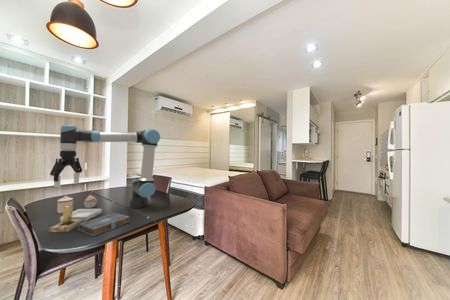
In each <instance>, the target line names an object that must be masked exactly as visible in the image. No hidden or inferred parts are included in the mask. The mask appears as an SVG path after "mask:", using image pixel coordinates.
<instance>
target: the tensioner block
mask: <svg viewBox="0 0 450 300" xmlns="http://www.w3.org/2000/svg"><path fill="white" fill-rule="evenodd" d="M80 223H83V219H72V224H70V225H63V221H62V222H60V221H59V222H58V223H56V224H55V225H52V226H50V227H49V228H48V233H69V232H70V231H72V230H74V229H75V228H78V224H80Z"/></svg>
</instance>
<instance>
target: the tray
mask: <svg viewBox="0 0 450 300" xmlns="http://www.w3.org/2000/svg"><path fill="white" fill-rule="evenodd" d="M102 212H103V209H102V208H89V209H87V208H79V209H76V210H72V219H83V222H87V221H90V220H93V219H94V218H95V217H97V216H99V215H101V214H102ZM62 221H63V215H62V216H60V217H59V223H60V222H62Z"/></svg>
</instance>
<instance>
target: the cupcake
mask: <svg viewBox="0 0 450 300" xmlns="http://www.w3.org/2000/svg"><path fill="white" fill-rule="evenodd" d="M97 203H98V200H97V198H96V197H95V196H93V195H91V194H90V195H88V196H87V197H86V198H85V199H84V201H83V205H84V209H95V208H96V204H97Z"/></svg>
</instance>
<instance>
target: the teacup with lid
mask: <svg viewBox="0 0 450 300" xmlns="http://www.w3.org/2000/svg"><path fill="white" fill-rule="evenodd" d="M65 205H72V211H74V197H70V196H68V195H64V196H63V197H62V198H59V199H57V208H56V209H57V210H56V211H57V214H63V206H65Z"/></svg>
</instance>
